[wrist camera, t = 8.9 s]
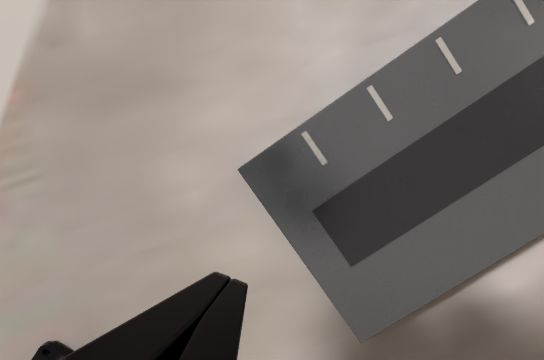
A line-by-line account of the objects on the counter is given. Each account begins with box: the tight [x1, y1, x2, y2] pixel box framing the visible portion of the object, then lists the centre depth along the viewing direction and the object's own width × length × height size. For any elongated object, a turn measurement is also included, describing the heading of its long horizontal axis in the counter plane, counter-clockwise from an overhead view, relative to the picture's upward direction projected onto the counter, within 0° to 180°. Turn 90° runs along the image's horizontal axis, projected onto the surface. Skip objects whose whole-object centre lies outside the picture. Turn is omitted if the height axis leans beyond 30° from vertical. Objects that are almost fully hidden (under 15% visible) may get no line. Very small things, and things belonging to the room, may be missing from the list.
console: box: [238, 0, 544, 343], centre depth 17 cm, size 24×12×4 cm, turn 125°
